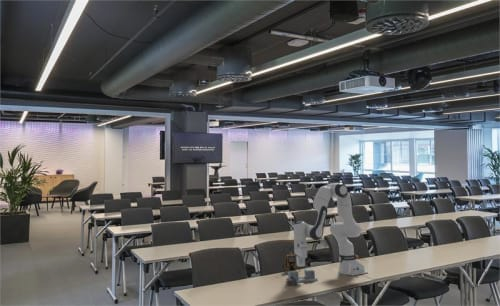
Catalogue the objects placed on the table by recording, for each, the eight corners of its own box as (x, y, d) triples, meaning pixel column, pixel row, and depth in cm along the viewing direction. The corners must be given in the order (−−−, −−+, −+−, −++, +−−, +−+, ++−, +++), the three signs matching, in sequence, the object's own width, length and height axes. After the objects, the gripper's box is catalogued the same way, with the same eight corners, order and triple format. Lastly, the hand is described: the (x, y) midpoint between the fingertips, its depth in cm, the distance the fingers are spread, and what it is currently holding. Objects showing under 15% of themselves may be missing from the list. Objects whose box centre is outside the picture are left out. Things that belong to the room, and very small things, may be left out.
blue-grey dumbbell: (314, 278, 294) (313, 268, 294) (317, 280, 287) (317, 270, 288) (286, 280, 290) (285, 270, 290) (288, 283, 283) (288, 273, 283)
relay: (295, 283, 282) (295, 278, 282) (296, 285, 278) (296, 279, 278) (287, 284, 282) (287, 278, 282) (288, 285, 278) (288, 279, 278)
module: (296, 265, 291) (296, 255, 291) (303, 264, 292) (302, 255, 292) (298, 266, 286) (298, 256, 287) (305, 266, 287) (304, 256, 288)
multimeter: (286, 274, 307) (284, 249, 308) (282, 271, 317) (281, 246, 318) (303, 273, 310) (302, 247, 311) (299, 270, 320) (298, 245, 321)
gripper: (291, 241, 300) (292, 259, 299) (300, 245, 279) (300, 265, 279) (299, 240, 301) (300, 259, 300) (308, 245, 281) (309, 264, 280)
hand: (300, 262), depth 289 cm, fingers closed on module, 4 cm apart
